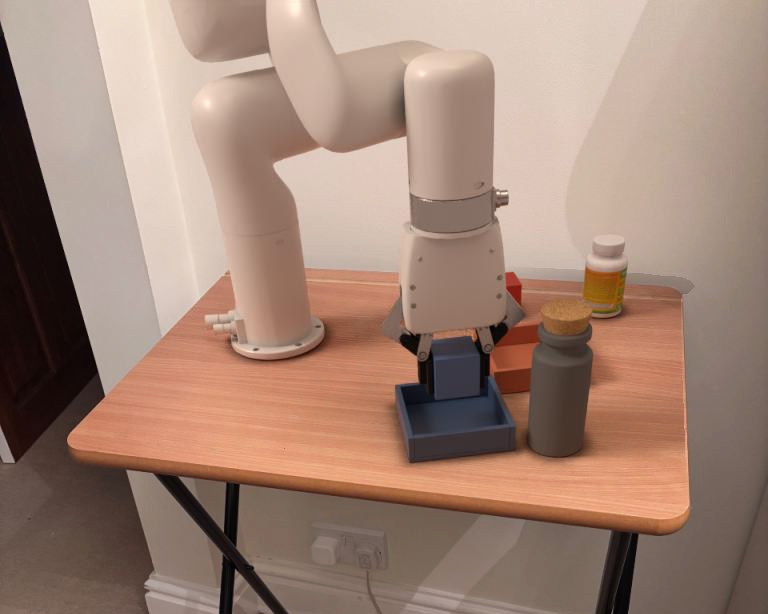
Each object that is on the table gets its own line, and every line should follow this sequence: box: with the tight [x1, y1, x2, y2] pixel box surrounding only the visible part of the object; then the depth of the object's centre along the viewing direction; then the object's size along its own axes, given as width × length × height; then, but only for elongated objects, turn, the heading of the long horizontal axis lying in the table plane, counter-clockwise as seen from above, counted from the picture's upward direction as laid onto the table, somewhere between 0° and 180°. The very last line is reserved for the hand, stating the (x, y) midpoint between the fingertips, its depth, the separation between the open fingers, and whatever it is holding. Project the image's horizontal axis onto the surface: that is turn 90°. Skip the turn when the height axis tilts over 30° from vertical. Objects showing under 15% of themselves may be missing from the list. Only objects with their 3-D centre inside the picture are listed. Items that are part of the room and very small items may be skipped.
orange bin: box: [473, 321, 542, 395], centre depth 94 cm, size 11×11×3 cm
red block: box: [505, 271, 523, 308], centre depth 106 cm, size 5×5×5 cm
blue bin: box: [394, 374, 517, 463], centre depth 85 cm, size 11×11×3 cm
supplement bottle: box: [580, 233, 629, 319], centre depth 103 cm, size 5×5×10 cm
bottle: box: [526, 298, 594, 458], centre depth 77 cm, size 6×6×15 cm
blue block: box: [430, 335, 480, 400], centre depth 81 cm, size 5×5×5 cm
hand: (453, 384), depth 82 cm, fingers closed on blue block, 4 cm apart
